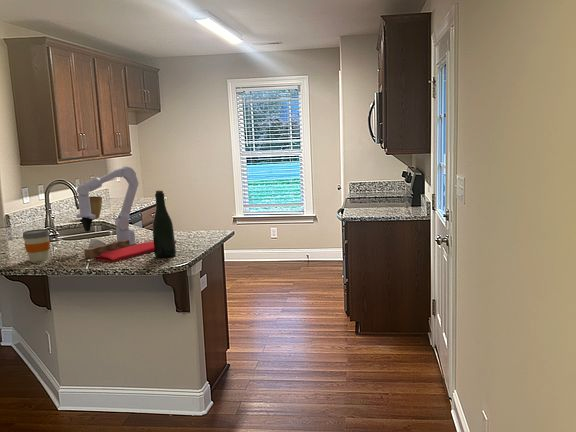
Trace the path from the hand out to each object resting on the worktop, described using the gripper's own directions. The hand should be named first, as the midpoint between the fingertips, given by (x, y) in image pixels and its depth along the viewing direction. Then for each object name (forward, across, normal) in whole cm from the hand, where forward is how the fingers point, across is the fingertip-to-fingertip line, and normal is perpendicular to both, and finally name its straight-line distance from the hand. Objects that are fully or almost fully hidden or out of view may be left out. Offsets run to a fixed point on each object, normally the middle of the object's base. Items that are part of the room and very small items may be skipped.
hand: (87, 231), depth 304 cm
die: (+11, +10, -2) cm, 15 cm away
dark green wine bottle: (+11, +54, +6) cm, 55 cm away
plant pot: (+11, -102, +75) cm, 127 cm away
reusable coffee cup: (+11, -6, -26) cm, 29 cm away
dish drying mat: (+11, +32, +6) cm, 34 cm away
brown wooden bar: (+10, +18, -1) cm, 20 cm away
